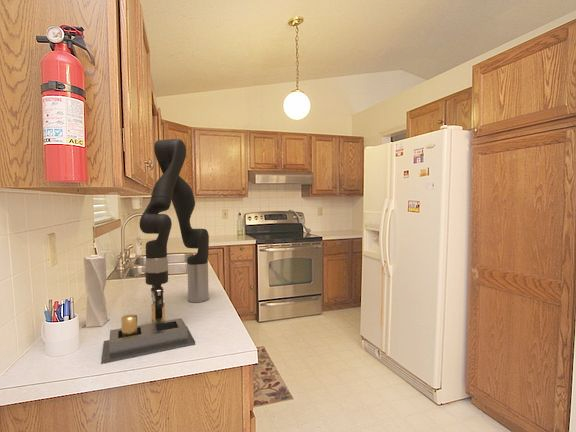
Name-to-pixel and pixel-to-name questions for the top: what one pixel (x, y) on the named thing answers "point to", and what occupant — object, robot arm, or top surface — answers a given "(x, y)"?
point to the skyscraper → (95, 290)
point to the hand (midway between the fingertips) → (157, 314)
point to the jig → (145, 338)
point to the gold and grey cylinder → (154, 313)
